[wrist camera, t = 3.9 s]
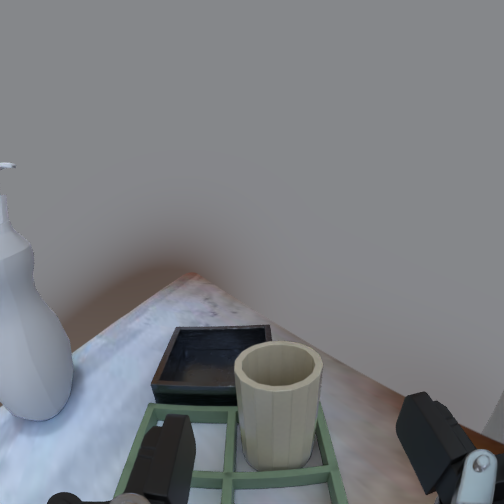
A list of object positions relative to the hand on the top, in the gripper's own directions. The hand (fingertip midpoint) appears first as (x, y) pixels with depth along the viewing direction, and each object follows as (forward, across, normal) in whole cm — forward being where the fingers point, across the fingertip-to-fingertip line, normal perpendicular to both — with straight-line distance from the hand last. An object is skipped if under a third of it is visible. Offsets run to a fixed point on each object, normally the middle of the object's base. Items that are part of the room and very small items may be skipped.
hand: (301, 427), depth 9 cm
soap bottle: (+16, +29, +16) cm, 37 cm away
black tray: (+24, +6, +16) cm, 29 cm away
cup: (+11, 0, +16) cm, 20 cm away
